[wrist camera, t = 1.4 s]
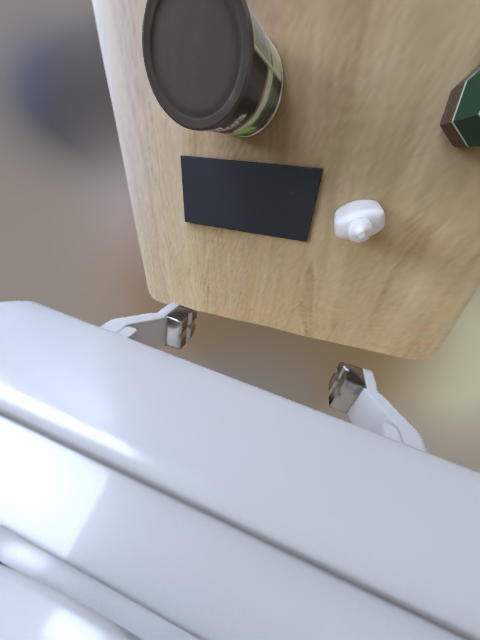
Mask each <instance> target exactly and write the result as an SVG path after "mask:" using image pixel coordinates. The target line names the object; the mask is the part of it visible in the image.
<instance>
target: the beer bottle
mask: <svg viewBox="0 0 480 640" xmlns="http://www.w3.org/2000/svg"><path fill="white" fill-rule="evenodd" d="M440 126H441V128H442V129H443V131H444V132H445V134H446V135H447V137H448V139H449V140H450V142H451V143H452V145H453V146H455V147H470V146H480V65H479V66H478V67H477V68H476V69H475V70H473V71H472V72H471V73H470V74H469V75H468V76H467V77H466V78H465V79H464V80H462V81H461V82H460V83H459V84H458V85H457V86H456V87H455V88H454V89H452V90H451V93H450V96H449V99H448V102H447V105H446V108H445V111H444V114H443V117H442V120H441V123H440Z"/></svg>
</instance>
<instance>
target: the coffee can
mask: <svg viewBox="0 0 480 640" xmlns="http://www.w3.org/2000/svg"><path fill="white" fill-rule="evenodd" d="M142 47H143V57H144V63H145V68H146V72H147V76H148V79H149V82H150V85H151V88H152V90H153V93H154V95H155V97H156V99H157V101H158V102H159V104H160V106H161V107H162V108H163V109H164V111H165V112H166V113H167V114H168V115H169V116H170V117H171V118H172V119H173V120H174V121H175V122H176V123H178V124H179V125H181V126H183V127H185V128H188V129H191V130H197V131H204V130H207V131H213V132H219V133H225V134H231V135H234V136H238V137H250V136H253V135H255V134H257V133H259V132H260V131H262V130H263V129H264V128H265V127H266V126H267V125H268V124H269V123H270V122H271V120H272V119H273V117H274V115H275V113H276V111H277V109H278V107H279V104H280V100H281V96H282V90H283V69H282V63H281V60H280V56H279V54H278V51H277V49H276V47H275V46H274V44H273V42H272V41H271V40H270V39H269V38H268V36H267V34H266V33H265V31H264V29H263V28H262V26H261V24H260V23H259V21H258V20H257V18H256V16H255V15H254V13H253V12H252V10H251V8H250V7H249V5H248V3H247V2H246V0H147V4H146V8H145V14H144V20H143V28H142Z"/></svg>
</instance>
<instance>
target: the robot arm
mask: <svg viewBox="0 0 480 640" xmlns="http://www.w3.org/2000/svg"><path fill="white" fill-rule="evenodd" d="M196 317H197V312H196V311H195V310H193V309H190V308H187V307H184V306H182V305H179V304H176V303H173V302H171V303H170V304H168V305H167V306H166V307H164V308H163V309H162V310H160V311H159V312H157V313H149V314H142V315H136V316H130V317H124V318H118V319H112V320H110V321H108V322H107V323H105V324H104V325H102V326H100V327H98V326H96V325H93V324H90V323H88V322H85V321H83V320H80V319H77V318H75V317H72V316H69V315H67V314H64V313H61V312H59V311H56V310H54V309H51V308H48V307H46V306H44V305H41V304H39V303H36V302H32V301H6V302H0V640H480V473H479V472H476V471H474V470H471V469H468V468H466V467H463V466H460V465H458V464H455V463H452V462H450V461H447V460H445V459H442V458H439V457H437V456H434V455H432V454H429V453H428V452H427V450H426V448H425V445H424V442H423V440H422V437H421V435H420V434H419V433H418V432H417V431H416V430H415V429H414V428H413V427H412V426H411V425H410V423H409V422H408V421H407V420H406V419H405V418H404V417H403V416H402V415H401V414H400V413H399V412H398V411H397V410H396V409H395V408H394V407H393V406H392V405H391V404H390V403H389V402H388V401H387V400H386V399H385V398H384V397H383V395H381V394H379V393H378V390H377V386H376V383H375V379H374V375H373V372H372V371H370V370H367V369H363V368H359V367H357V366H353V365H351V364H347V363H344V362H340V363H339V365H338V367H337V372H336V373H334V374H333V376H332V378H331V380H330V384H329V391H330V393H331V395H330V396H329V404H330V405H329V406H330V407H331V408H334V409H336V410H339V411H341V412H344V413H346V414H347V416H348V418H349V420H350V422H351V423H352V424H351V423H348V422H346V421H343V420H341V419H338V418H335V417H333V416H330V415H328V414H325V413H322V412H320V411H317V410H315V409H312V408H309V407H307V406H304V405H302V404H299V403H296V402H293V401H291V400H288V399H286V398H283V397H280V396H278V395H275V394H272V393H270V392H268V391H265V390H262V389H259V388H257V387H255V386H252V385H249V384H247V383H244V382H242V381H239V380H236V379H234V378H231V377H229V376H226V375H223V374H220V373H218V372H215V371H213V370H210V369H208V368H205V367H202V366H200V365H197V364H195V363H192V362H189V361H187V360H184V359H182V358H179V357H176V356H174V355H171V354H169V353H166V352H163V351H161V350H158V349H159V348H161V347H164V346H165V345H167V346H169V347H172V348H176V349H178V350H180V349H181V348H182V347H183V345H184V344H185V343H186V340H188V339H190V338H191V336H192V335H193V333H194V330H195V325H196V324H195V322H194V320H195V319H196Z"/></svg>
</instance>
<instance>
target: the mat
mask: <svg viewBox="0 0 480 640" xmlns="http://www.w3.org/2000/svg"><path fill="white" fill-rule="evenodd" d="M181 168H182V183H183V198H184V212H185V222H190V223H196V224H202V225H208V226H214V227H220V228H226V229H232V230H239V231H245V232H251V233H257V234H263V235H269V236H275V237H281V238H287V239H293V240H299V241H305V242H306V241H307V237H308V233H309V228H310V224H311V219H312V215H313V210H314V206H315V202H316V197H317V193H318V188H319V184H320V179H321V175H322V170H323V169H320V168H309V167H298V166H288V165H277V164H266V163H256V162H245V161H234V160H224V159H213V158H202V157H192V156H181Z"/></svg>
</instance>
